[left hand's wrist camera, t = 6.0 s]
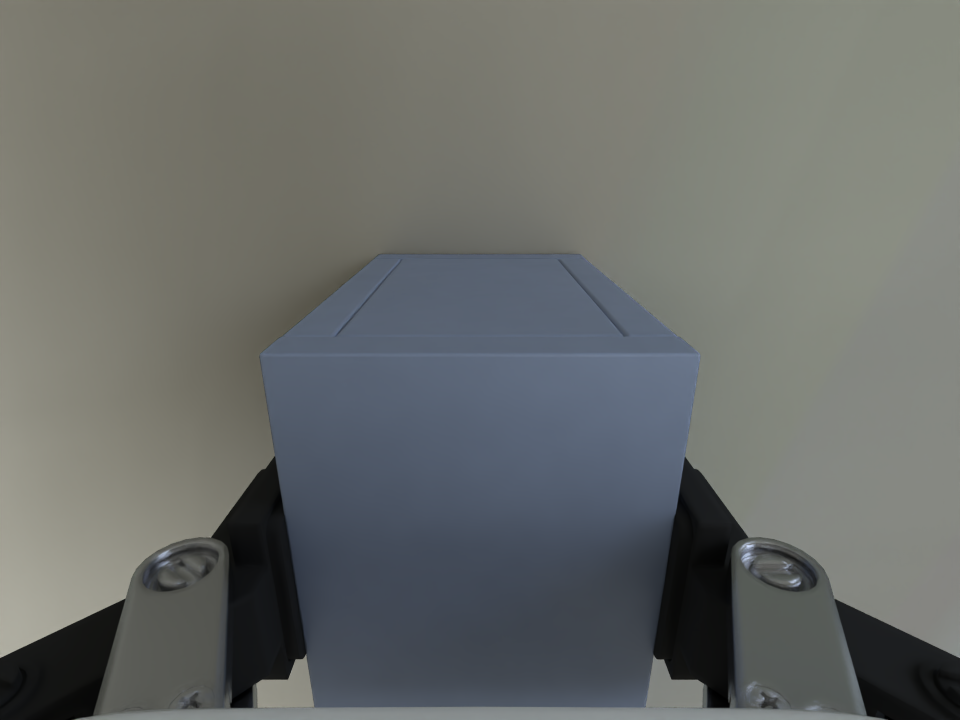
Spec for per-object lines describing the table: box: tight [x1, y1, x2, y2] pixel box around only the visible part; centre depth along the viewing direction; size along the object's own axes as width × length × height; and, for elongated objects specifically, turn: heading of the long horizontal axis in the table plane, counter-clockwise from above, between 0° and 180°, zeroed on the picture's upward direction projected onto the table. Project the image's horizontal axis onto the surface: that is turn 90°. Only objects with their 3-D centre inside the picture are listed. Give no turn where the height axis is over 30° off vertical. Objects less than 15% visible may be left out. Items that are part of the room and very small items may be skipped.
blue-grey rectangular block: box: [260, 254, 700, 708], centre depth 15 cm, size 20×6×9 cm, turn 0°
